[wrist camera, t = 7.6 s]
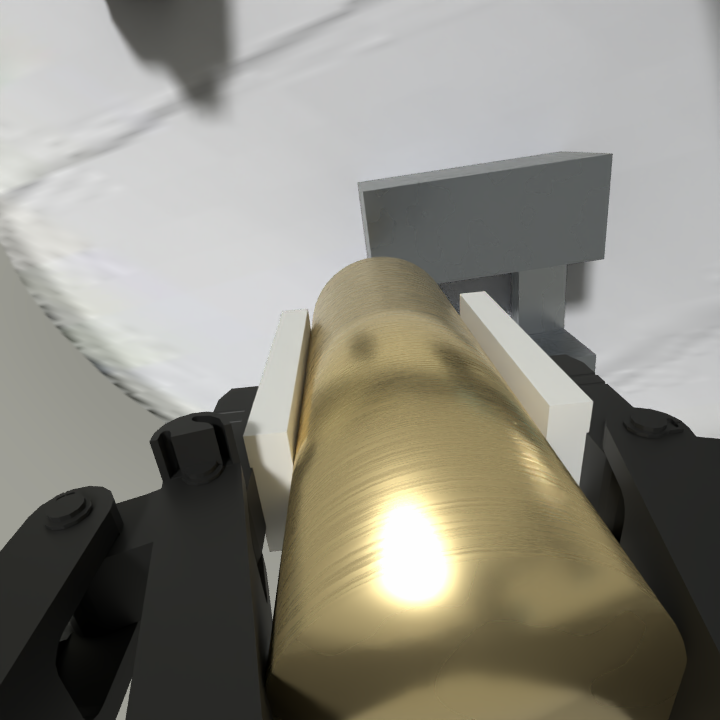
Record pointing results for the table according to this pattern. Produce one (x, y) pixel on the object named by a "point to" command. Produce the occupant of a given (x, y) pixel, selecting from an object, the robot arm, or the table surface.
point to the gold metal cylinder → (445, 538)
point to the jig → (500, 230)
